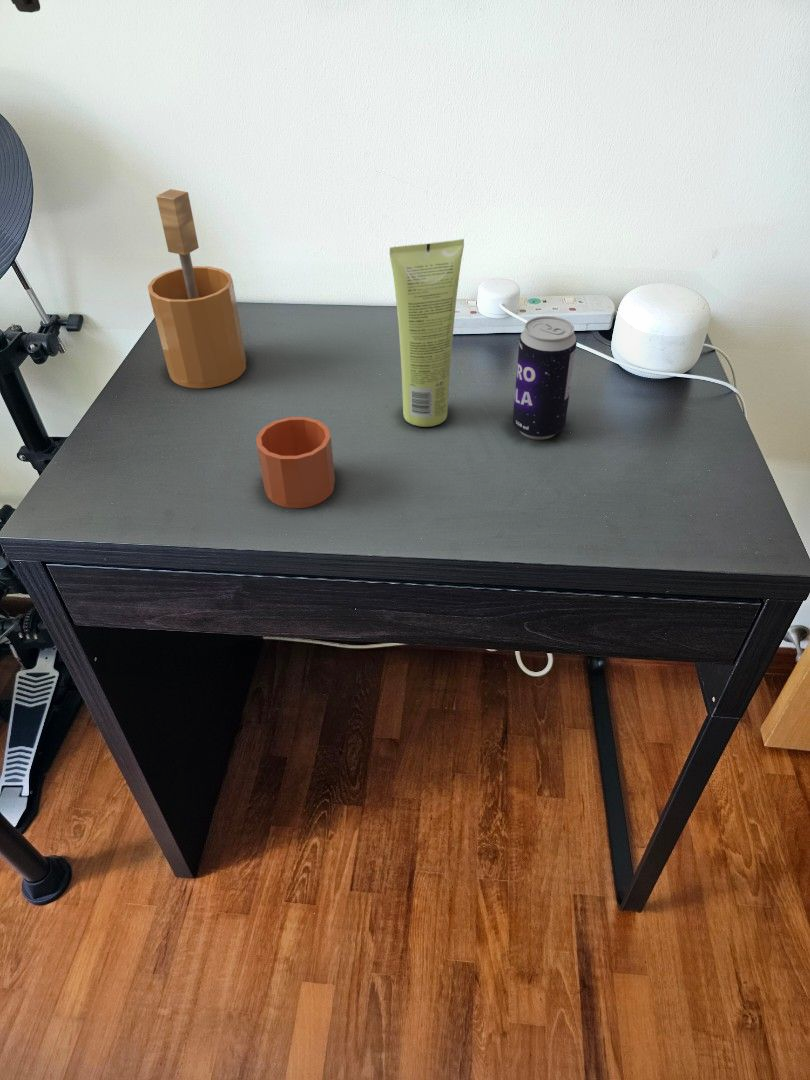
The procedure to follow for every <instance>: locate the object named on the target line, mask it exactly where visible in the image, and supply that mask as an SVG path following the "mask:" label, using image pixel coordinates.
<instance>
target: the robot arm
mask: <svg viewBox="0 0 810 1080" xmlns="http://www.w3.org/2000/svg"><path fill="white" fill-rule="evenodd" d="M10 2H11V4H12V5H14V6H15V8H16V9H17V11H18V12H21V13H37V12H39V11H40V10H41V3H40V0H10Z"/></svg>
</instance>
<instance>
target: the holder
mask: <svg viewBox="0 0 810 1080" xmlns="http://www.w3.org/2000/svg"><path fill="white" fill-rule="evenodd" d="M255 440H256V449H257V454H258V460H259V465H260V471H261V472H260V473H261V478H262V482H263V483H262V484H263V489H264V494H265V495H266V498H267V499H268V500H269V501H271V503H273V504H274V505H277V506H280V507H282V508H286V509H305V508H310V507H314V506H316V505H319V504H320V503H323V502H324V501H326V500H327V499H328V498H330V496H331V495H332V493H334V490H335V486H336V475H335V465H334V456H333V446H332V435H331V432H330V428H329V427H328V426H327V425H326V424H325V423H323V422H322V421H320V420H318V419H315V418H311V417H308V416H288V417H284V418H281V419H275V420H273V421H272V422H270V423H268V424H267V425H264V426H263V427H262V428H261V429H260V431H259V432H258V434H257V435H256V438H255Z"/></svg>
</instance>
